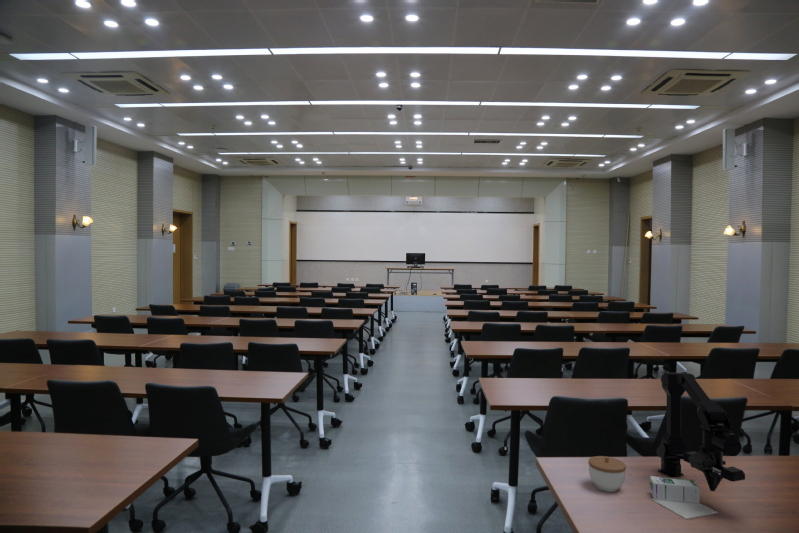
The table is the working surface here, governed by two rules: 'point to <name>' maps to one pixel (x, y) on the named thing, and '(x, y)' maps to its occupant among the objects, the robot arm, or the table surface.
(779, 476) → the table surface
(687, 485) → the syrup box
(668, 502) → the mat
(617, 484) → the lidded bowl
